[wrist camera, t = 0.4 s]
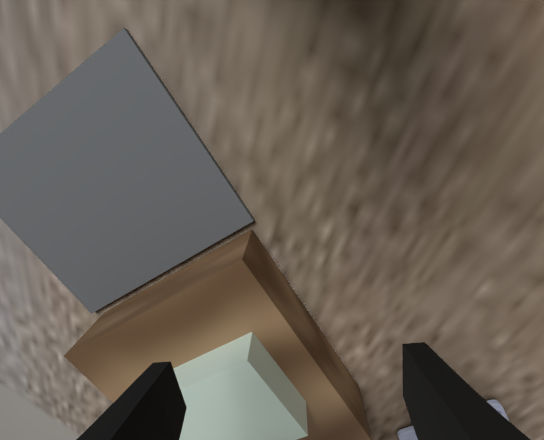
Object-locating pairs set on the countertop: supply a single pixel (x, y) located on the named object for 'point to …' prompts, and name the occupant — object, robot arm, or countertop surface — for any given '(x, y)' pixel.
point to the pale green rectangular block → (240, 395)
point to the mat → (112, 178)
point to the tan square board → (225, 334)
